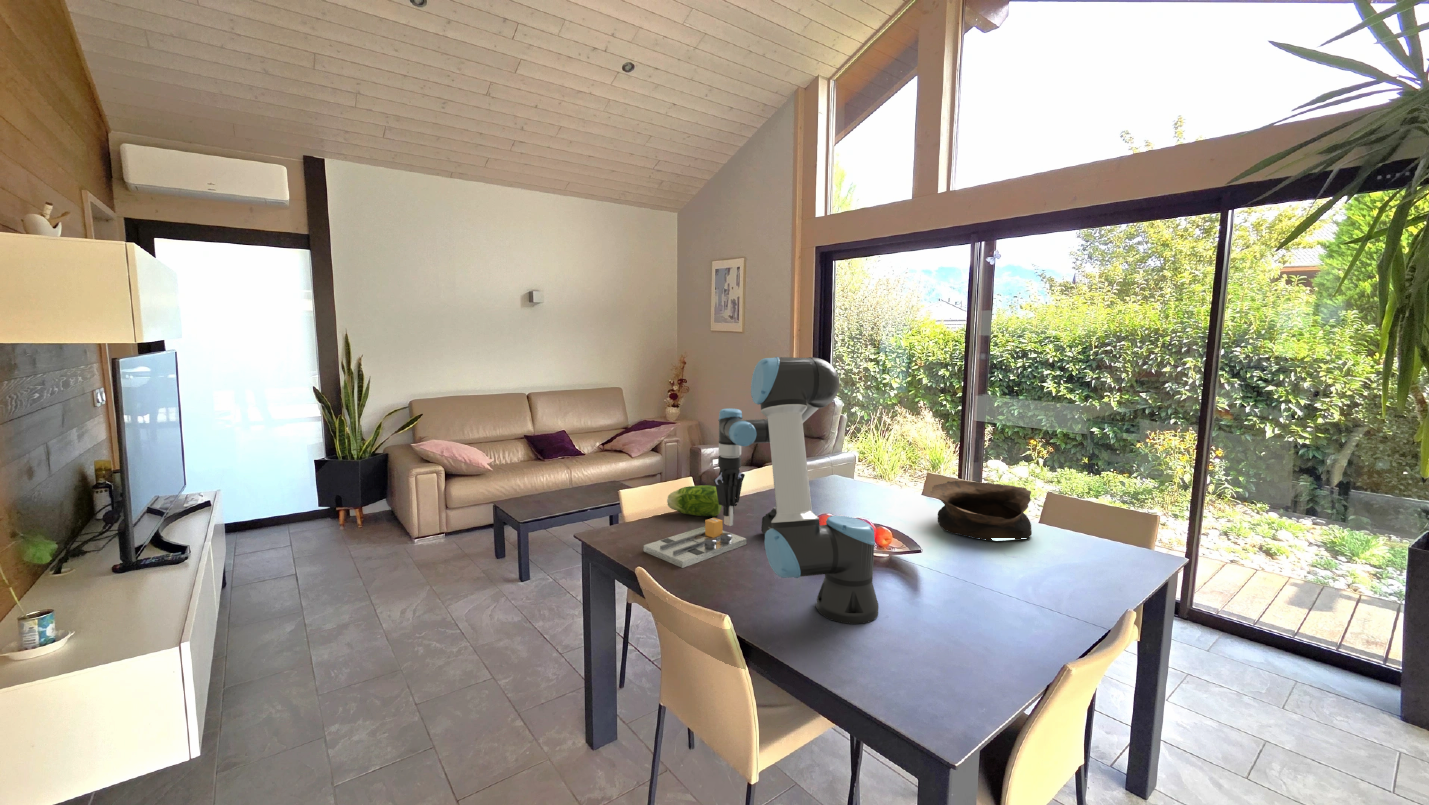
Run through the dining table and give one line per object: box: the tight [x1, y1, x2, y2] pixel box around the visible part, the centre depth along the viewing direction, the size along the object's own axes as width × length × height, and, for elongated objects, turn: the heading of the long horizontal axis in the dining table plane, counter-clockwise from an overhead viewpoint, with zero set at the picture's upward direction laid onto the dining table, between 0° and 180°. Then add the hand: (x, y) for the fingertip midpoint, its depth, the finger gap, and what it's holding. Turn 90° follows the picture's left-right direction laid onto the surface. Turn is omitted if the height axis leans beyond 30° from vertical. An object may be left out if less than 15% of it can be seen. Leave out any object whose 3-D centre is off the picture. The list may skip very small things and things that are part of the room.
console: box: [643, 525, 748, 569], centre depth 193 cm, size 18×28×4 cm, turn 135°
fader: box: [704, 517, 724, 538], centre depth 199 cm, size 4×4×5 cm
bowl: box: [930, 480, 1033, 541], centre depth 215 cm, size 34×33×15 cm
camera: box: [761, 506, 777, 535], centre depth 204 cm, size 13×10×10 cm
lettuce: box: [666, 484, 723, 518], centre depth 227 cm, size 12×21×11 cm, turn 86°
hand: (728, 524), depth 204 cm, fingers closed
